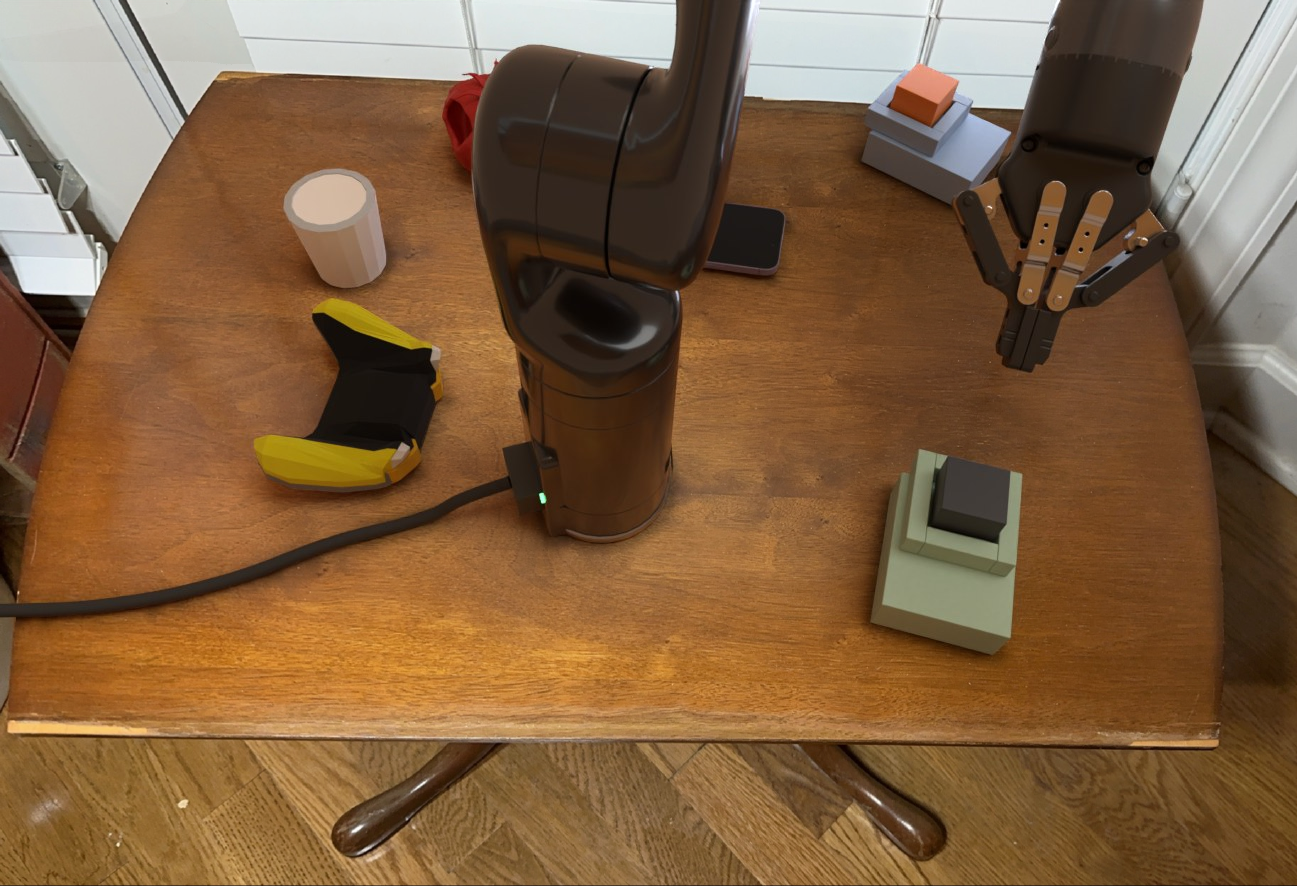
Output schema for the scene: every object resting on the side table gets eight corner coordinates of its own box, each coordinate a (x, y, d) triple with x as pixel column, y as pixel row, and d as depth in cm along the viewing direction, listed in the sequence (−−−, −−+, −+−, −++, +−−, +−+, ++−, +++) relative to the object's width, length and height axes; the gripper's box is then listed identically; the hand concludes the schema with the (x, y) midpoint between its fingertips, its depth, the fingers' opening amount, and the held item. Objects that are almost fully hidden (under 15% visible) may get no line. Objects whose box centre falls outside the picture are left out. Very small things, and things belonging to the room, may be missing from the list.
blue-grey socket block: (999, 160, 84) (1019, 115, 80) (960, 209, 81) (979, 165, 76) (893, 111, 87) (907, 65, 83) (851, 157, 84) (864, 111, 80)
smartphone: (615, 187, 80) (787, 209, 78) (615, 197, 81) (785, 219, 79) (597, 247, 76) (777, 272, 74) (598, 257, 77) (776, 281, 75)
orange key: (950, 105, 81) (959, 80, 79) (929, 129, 79) (938, 104, 77) (910, 87, 82) (918, 62, 80) (888, 110, 80) (896, 85, 78)
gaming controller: (265, 500, 64) (404, 521, 63) (236, 459, 59) (387, 482, 58) (336, 333, 72) (461, 350, 71) (316, 285, 67) (450, 303, 66)
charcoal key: (992, 542, 58) (1007, 524, 56) (929, 526, 59) (941, 508, 57) (997, 489, 60) (1011, 470, 58) (936, 474, 61) (948, 455, 59)
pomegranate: (492, 107, 86) (479, 15, 78) (582, 144, 84) (578, 54, 76) (428, 169, 81) (407, 78, 74) (521, 210, 79) (510, 121, 71)
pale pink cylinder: (386, 224, 78) (367, 159, 72) (401, 283, 74) (382, 220, 68) (304, 242, 76) (277, 177, 71) (315, 302, 73) (288, 239, 67)
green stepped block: (992, 655, 59) (1021, 627, 55) (869, 622, 60) (889, 593, 56) (1004, 510, 65) (1031, 475, 61) (891, 483, 66) (910, 446, 61)
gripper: (1204, 100, 54) (1108, 385, 58) (977, 57, 55) (899, 338, 59) (1266, 77, 47) (1151, 405, 51) (1003, 29, 48) (912, 350, 52)
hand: (1015, 368), depth 55 cm, fingers closed
